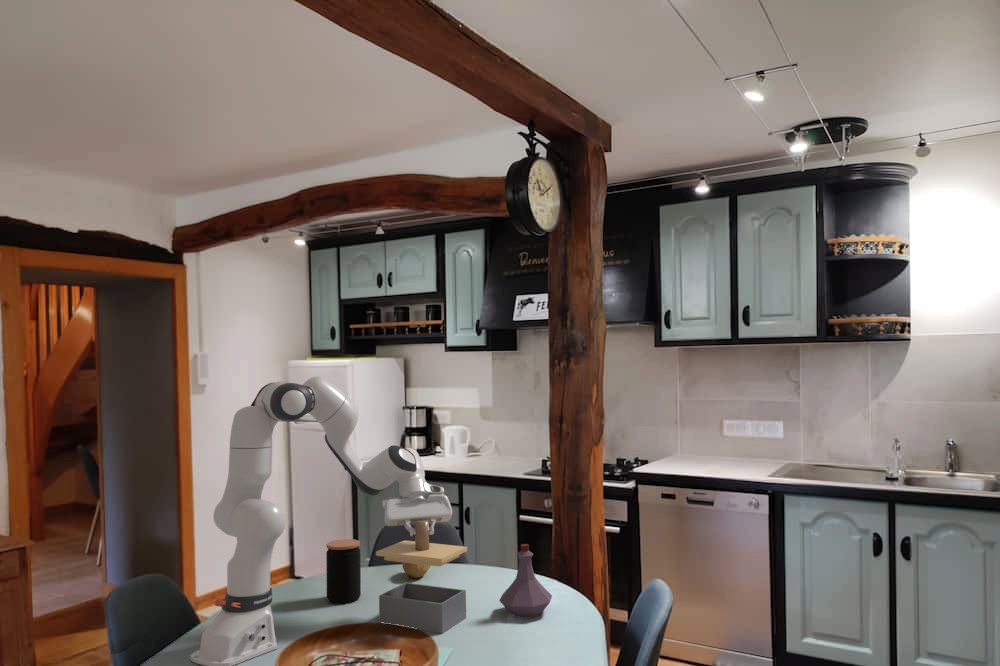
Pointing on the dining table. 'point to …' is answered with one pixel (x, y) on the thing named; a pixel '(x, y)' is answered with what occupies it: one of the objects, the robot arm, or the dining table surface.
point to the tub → (423, 607)
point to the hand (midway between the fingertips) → (422, 534)
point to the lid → (421, 549)
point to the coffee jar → (343, 571)
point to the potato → (415, 569)
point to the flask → (525, 590)
